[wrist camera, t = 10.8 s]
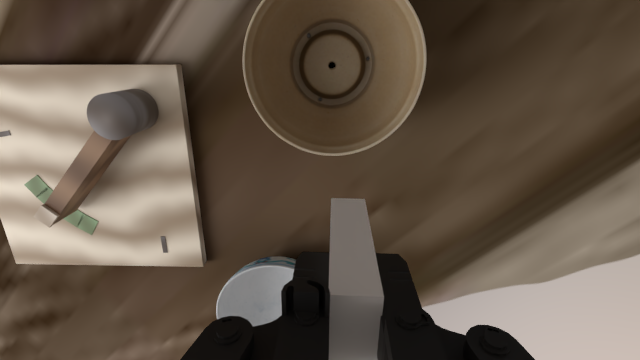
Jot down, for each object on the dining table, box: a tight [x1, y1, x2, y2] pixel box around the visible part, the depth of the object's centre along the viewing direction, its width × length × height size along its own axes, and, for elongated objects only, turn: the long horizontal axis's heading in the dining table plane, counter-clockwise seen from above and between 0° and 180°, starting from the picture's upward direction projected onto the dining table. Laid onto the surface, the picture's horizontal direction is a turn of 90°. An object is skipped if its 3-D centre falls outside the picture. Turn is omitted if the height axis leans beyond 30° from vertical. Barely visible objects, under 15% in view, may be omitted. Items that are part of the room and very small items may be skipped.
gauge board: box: [0, 64, 207, 267], centre depth 45 cm, size 27×27×2 cm
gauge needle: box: [34, 89, 159, 228], centre depth 40 cm, size 19×5×6 cm, turn 138°
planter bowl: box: [243, 0, 427, 156], centre depth 35 cm, size 16×16×11 cm
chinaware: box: [216, 256, 296, 326], centre depth 47 cm, size 15×15×8 cm
